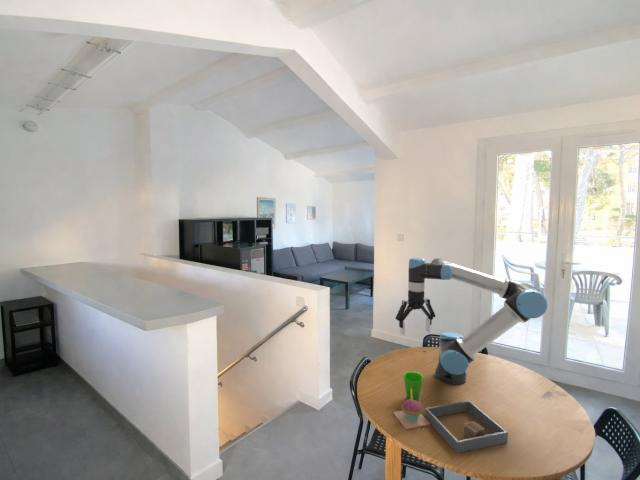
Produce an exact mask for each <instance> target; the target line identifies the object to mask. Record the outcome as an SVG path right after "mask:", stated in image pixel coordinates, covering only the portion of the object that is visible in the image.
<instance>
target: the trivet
mask: <svg viewBox="0 0 640 480" xmlns="http://www.w3.org/2000/svg"><path fill="white" fill-rule="evenodd" d="M392 413H393V415H394V416H395V418H396V419H397V421H398V422H399V423H400V425H402V427H403V428H404V429H405V430H411V429H416V428H423V427H426V426H428V427H429V426H431V423H430V422H429V421H428V420H427V419H426V418H425V415H423V413H422V414H420V415H419V417H418V419H417V420H416V421H411V420H408V419H407V418H406V415H405V412H404V411H403V409H401V410H396V411H393V412H392Z"/></svg>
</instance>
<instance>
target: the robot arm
mask: <svg viewBox="0 0 640 480" xmlns="http://www.w3.org/2000/svg"><path fill="white" fill-rule="evenodd" d="M426 279H430V280H442V281H449V280H454V281H457V282H460V283H463V284H466V285H469V286H472V287H475V288H478V289H481V290H484V291H487V292H489V293H493V294H496V295H498V296H499V298H501V299H505V300H504V302H503V306H502V307H501V308H500V309H499V310H497V311H496V312H495V313H493V314H492V315H490V317H488V318H487V319H486V320H484V321H483V322H482V323H481V324H479V325H478V326H477V327H475V328H474V329H473V330H472V331H470V332H469V333H467V334H466V335H465V336H464V335H462V334H461V333H457V332H450V331H449V332H447V331H444V332H441V333H440V334H439V346H438V347H439V351H438V352H439V354H438V362H437V366H436V368H435V371H434V375H435V378H436V379H437V380H439V381H441V382H442V383H446V384H449V385H462V384H464V383H466V382H467V373H466V372H467V369H468V368H469V365H470V364H471V363H472V362H474V361H475V360H476V355H477V354H479V352H481V351H482V350H484V349H485V348H486V347H487V346H489V345H490V344H492V343H493V342H494V341H495V340H497V339H498V338H500V337H501V336H503V335H504V334H505V333H506V332H507V331H509V330H510V329H512V328H513V327H514V326H516V325H517V324H518V323H526V322H528V321H529V320H531V319H537V318H540V317H542V316H543V315H545V313H546V312H547V309H548V301H547V298H546V297H545V295H544V294H543V293H542V292H541V291H539V290H538V289H536V287H534V286H533V285H531V284H529V283H525V282H521V281H518V280H513V279H510V278H504V279H503V278H500V277H497V276H493V275H490V274H487V273H484V272H481V271H478V270H475V269H472V268H468V267H464V266H461V265H459V264H456V263H452V262H450V261H446V260H444V259H442V258H438V257H437V258H434V259H432V260H431V262H426V259H425V258H423V257H411V258H409V260H408V282H407V283H408V289H407V290H408V291H407V297H408V299H407V300H404V299H403V300H402V301H401V305H400V307H399V310H398V311H397V314H396V316H395V320H396V321H398V326H399V328H400V335H403V336H405V335H406V333H405V332H406V323H405V320H406V319H407V317H408V316H409V314H410V313H411V312H412V311H415V310H421V311H422V312H423V313H424V315H426V318H425V332H427V333H430V332H431V325H432V323H433V322H432V321H433V319H434V318H436V313H435V312H434V309H433V307H432V304H431V300H430V299H429V298H425V283H426V282H425V280H426ZM424 304H425V306H426V307H425V306H424ZM426 308H427V309H426Z"/></svg>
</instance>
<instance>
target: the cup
mask: <svg viewBox="0 0 640 480" xmlns="http://www.w3.org/2000/svg"><path fill="white" fill-rule="evenodd" d="M402 378H403V379H404V382H403V383H404V387H405V393H406V394H405V396H406V400H408V399H411V389H412V399H414V400H416V401H418V402H419V399H420V394H421V389H422V386H423V380H424V375H422V374H421V373H419V372H417V371H406V372H404V373H403V374H402Z"/></svg>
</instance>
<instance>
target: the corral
mask: <svg viewBox="0 0 640 480" xmlns="http://www.w3.org/2000/svg"><path fill="white" fill-rule="evenodd" d="M467 411H469V412H470V414H471V415H473V416H474V417H476V418H477V420H479V421H480V422H481V423H482V424H484V425H485V426H486V427H487V428H488V429H489V430H491V431H492V432H493V433H489V434H485V435H484V436H479V437H474V438H469V439H466V438H465V439H460V440H458V438H456V436H454V435H453V433H451V431H450V430H449V429H448V428H447V427H446V426H445V425H444V424H443V423H442V422H441V420H439V419H438V418H437V417H440V416H445V415H449V414H456V413H461V412H467ZM424 417H425V418H426V419H427V420H428V422H429V423H430V425H431V426H432V427H433V428H434V429H435V430H436V431H437V432H438V433H439V435H441V437H442V438H443V439H444V440H445V441H446V442H447V443H448V444H449V446H450V447H452V449H453V450H454V452H456V453H457V454H459V453H462V452H469V451H472V450H477V449H481V448H487V447H491V446H497V445H499V444H501V445H502V444H505V443H508V440H509V437H508V436H509V432H508V431H507V430H506V429H505V428H503V426H501V425H500V424H498V423H497V422H496V421H495V420H494V419H493V418H492V417H490V416H489V415H488V414H487V413H485V412H484V411H483V410H482V409H481V408H480V407H478V406H477V405H476V404H474V403H473V402H472V401H471V400H464V401H459V402H457V401H456V402H452V403H446V404H441V405H435V406H434V405H433V406H428V407H425V408H424Z"/></svg>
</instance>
